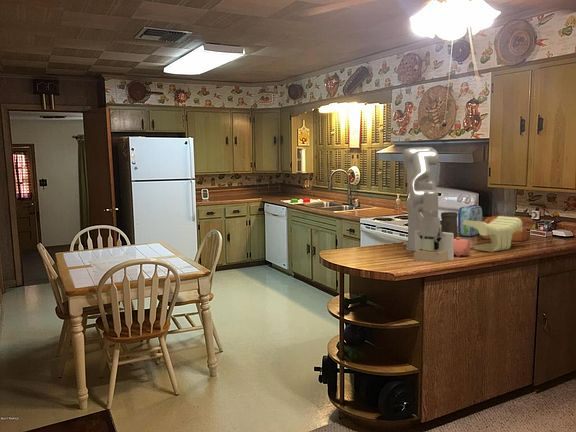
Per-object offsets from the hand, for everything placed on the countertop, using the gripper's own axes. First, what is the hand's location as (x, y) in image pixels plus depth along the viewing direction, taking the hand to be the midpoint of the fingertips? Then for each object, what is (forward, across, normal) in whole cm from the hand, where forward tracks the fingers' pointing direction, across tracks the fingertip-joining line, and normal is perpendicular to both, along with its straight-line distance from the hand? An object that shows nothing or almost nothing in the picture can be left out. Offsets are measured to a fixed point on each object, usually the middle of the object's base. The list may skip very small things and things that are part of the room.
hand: (430, 248), depth 253 cm
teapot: (+6, +5, +19) cm, 21 cm away
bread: (+7, -1, +90) cm, 90 cm away
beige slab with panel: (+6, -2, +1) cm, 6 cm away
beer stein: (+6, -21, +56) cm, 60 cm away
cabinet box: (+1, 0, 0) cm, 1 cm away
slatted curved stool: (+6, +11, +48) cm, 50 cm away
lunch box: (+7, -27, +95) cm, 99 cm away
